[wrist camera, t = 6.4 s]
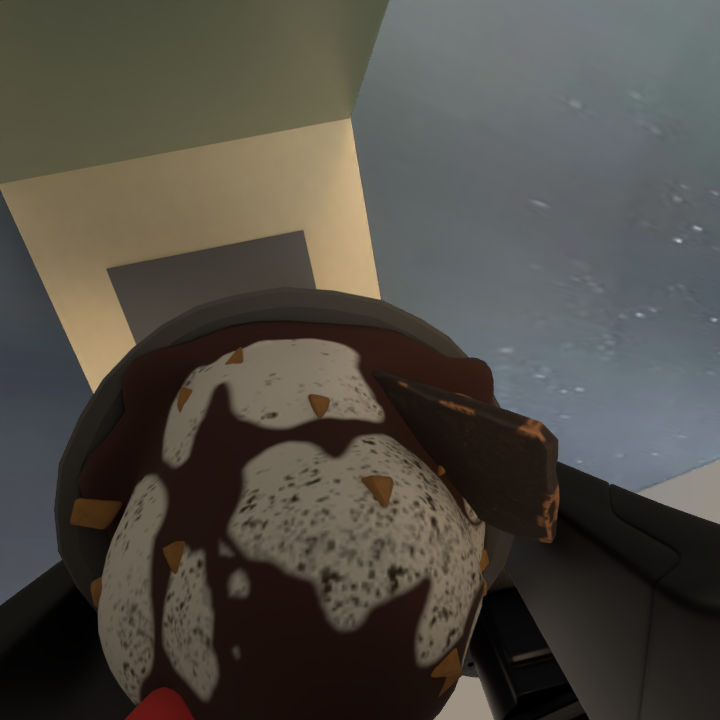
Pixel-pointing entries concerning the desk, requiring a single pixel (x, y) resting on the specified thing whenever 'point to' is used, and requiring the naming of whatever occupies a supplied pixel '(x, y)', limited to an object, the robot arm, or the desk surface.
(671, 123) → the desk surface
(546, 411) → the desk surface
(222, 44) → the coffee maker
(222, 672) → the sundae
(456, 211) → the desk surface
